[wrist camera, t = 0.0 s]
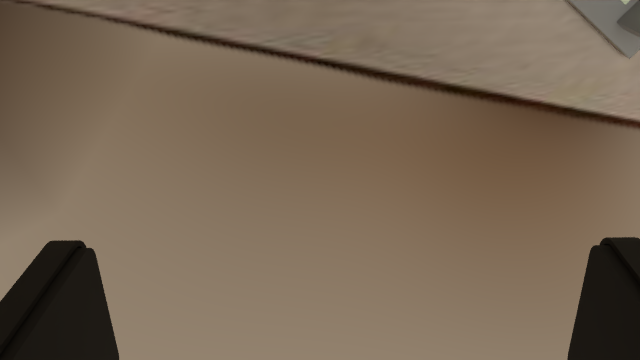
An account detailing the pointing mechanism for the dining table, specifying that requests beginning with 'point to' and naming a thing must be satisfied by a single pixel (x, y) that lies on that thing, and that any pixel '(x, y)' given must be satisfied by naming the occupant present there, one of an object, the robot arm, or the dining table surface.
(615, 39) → the rack
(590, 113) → the dining table surface
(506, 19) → the dining table surface
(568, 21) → the dining table surface
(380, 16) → the dining table surface
